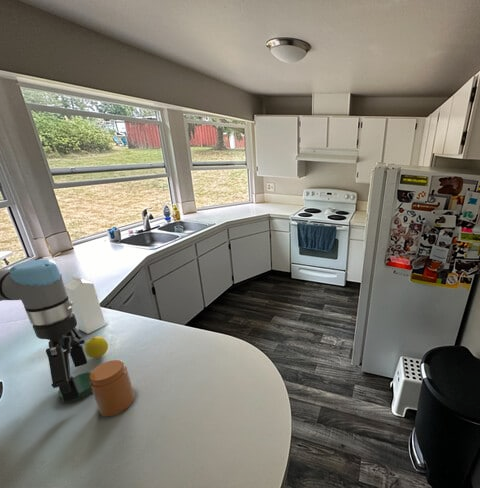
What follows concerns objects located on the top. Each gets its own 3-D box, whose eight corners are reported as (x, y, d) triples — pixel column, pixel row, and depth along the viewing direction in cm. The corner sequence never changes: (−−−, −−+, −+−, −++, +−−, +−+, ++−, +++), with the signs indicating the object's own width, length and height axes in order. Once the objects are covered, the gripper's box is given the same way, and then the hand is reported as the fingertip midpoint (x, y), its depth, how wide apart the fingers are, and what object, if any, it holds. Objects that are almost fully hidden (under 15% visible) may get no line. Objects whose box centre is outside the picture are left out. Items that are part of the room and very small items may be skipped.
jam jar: (98, 422, 64) (84, 387, 60) (101, 399, 70) (89, 366, 66) (134, 406, 68) (124, 372, 64) (134, 386, 74) (125, 354, 70)
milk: (97, 321, 102) (82, 272, 95) (106, 325, 100) (91, 275, 93) (78, 329, 97) (61, 278, 90) (87, 334, 94) (70, 282, 87)
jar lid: (101, 373, 78) (99, 367, 77) (97, 393, 72) (95, 387, 71) (64, 385, 74) (62, 379, 73) (56, 408, 67) (54, 402, 66)
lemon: (93, 353, 86) (86, 334, 83) (113, 349, 88) (107, 330, 85) (85, 365, 81) (78, 345, 78) (106, 360, 83) (100, 341, 80)
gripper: (62, 340, 57) (88, 407, 64) (81, 292, 76) (99, 348, 83) (12, 354, 53) (46, 424, 60) (46, 299, 72) (68, 357, 79)
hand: (77, 380), depth 71 cm, fingers open, 13 cm apart
